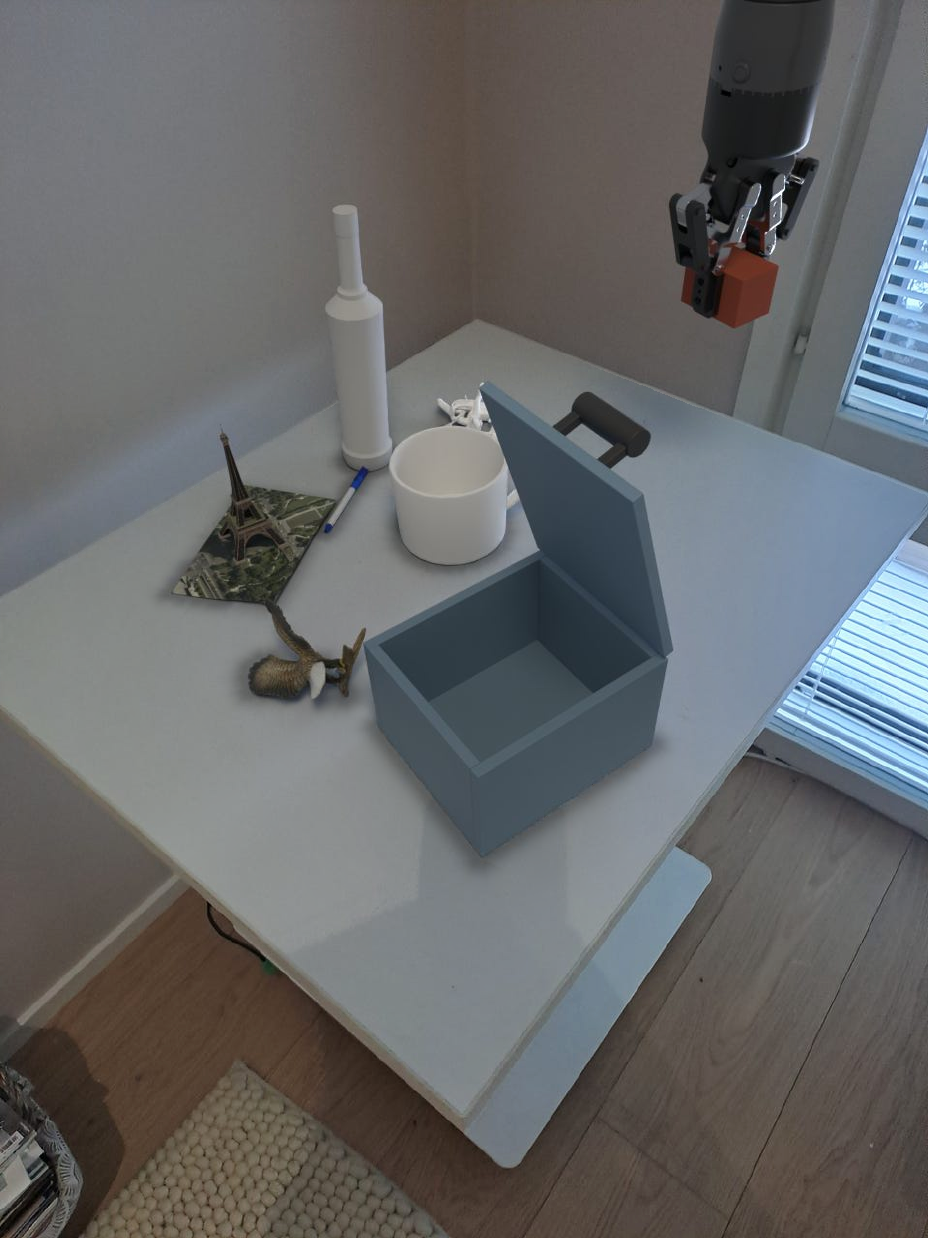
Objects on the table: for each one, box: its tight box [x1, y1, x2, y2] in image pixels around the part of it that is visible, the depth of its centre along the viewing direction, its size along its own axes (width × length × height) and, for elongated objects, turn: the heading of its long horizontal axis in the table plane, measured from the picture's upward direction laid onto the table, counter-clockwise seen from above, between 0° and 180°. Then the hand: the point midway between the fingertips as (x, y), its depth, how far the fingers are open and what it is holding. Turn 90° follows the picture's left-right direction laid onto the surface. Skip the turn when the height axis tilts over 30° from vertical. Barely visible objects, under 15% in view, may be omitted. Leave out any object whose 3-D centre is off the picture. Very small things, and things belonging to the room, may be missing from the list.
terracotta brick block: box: [680, 242, 780, 330], centre depth 72 cm, size 6×4×4 cm, turn 35°
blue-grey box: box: [362, 549, 669, 858], centre depth 64 cm, size 16×14×10 cm
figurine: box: [436, 382, 498, 440], centre depth 94 cm, size 3×8×8 cm
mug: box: [388, 425, 520, 566], centre depth 81 cm, size 13×10×8 cm
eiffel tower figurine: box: [171, 423, 337, 604], centre depth 79 cm, size 15×10×13 cm
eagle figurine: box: [247, 597, 367, 700], centre depth 70 cm, size 8×7×9 cm
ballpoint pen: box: [323, 466, 369, 534], centre depth 88 cm, size 10×1×1 cm, turn 164°
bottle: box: [324, 204, 393, 472], centre depth 83 cm, size 5×5×25 cm
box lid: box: [478, 380, 674, 657], centre depth 57 cm, size 16×14×5 cm
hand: (724, 303), depth 74 cm, fingers closed on terracotta brick block, 4 cm apart
